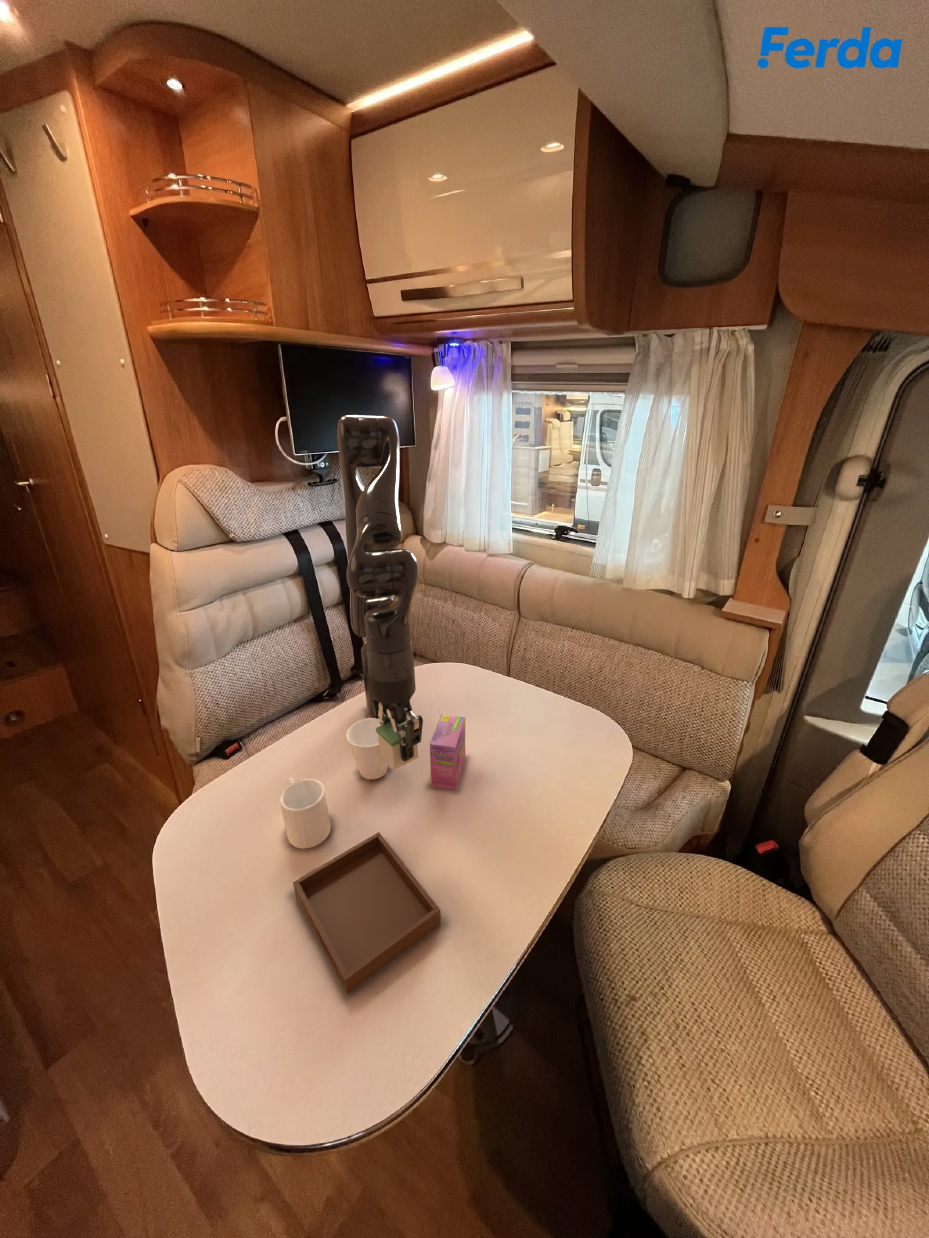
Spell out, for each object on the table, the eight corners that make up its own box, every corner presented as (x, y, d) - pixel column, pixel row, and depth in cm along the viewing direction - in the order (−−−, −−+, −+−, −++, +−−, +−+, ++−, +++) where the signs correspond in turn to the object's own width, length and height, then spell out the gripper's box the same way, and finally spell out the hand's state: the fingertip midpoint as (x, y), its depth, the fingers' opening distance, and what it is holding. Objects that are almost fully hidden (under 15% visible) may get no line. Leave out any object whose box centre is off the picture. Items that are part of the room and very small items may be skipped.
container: (378, 755, 90) (375, 727, 87) (403, 742, 93) (401, 716, 90) (394, 771, 86) (391, 743, 83) (420, 757, 89) (418, 730, 87)
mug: (313, 797, 105) (306, 761, 101) (337, 834, 97) (331, 796, 92) (275, 816, 101) (266, 779, 97) (297, 856, 92) (288, 817, 88)
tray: (295, 894, 85) (292, 881, 84) (380, 843, 95) (379, 831, 93) (347, 994, 71) (344, 980, 70) (441, 923, 81) (440, 909, 79)
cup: (342, 771, 112) (336, 732, 107) (377, 750, 119) (373, 712, 114) (369, 794, 106) (364, 753, 101) (405, 769, 113) (401, 730, 108)
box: (456, 790, 107) (455, 747, 102) (430, 787, 108) (428, 743, 103) (466, 758, 116) (465, 716, 111) (442, 755, 117) (440, 713, 112)
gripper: (435, 677, 79) (439, 762, 86) (388, 645, 89) (395, 723, 96) (394, 694, 75) (402, 782, 82) (350, 658, 85) (360, 739, 92)
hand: (398, 749), depth 89 cm, fingers closed on container, 5 cm apart
